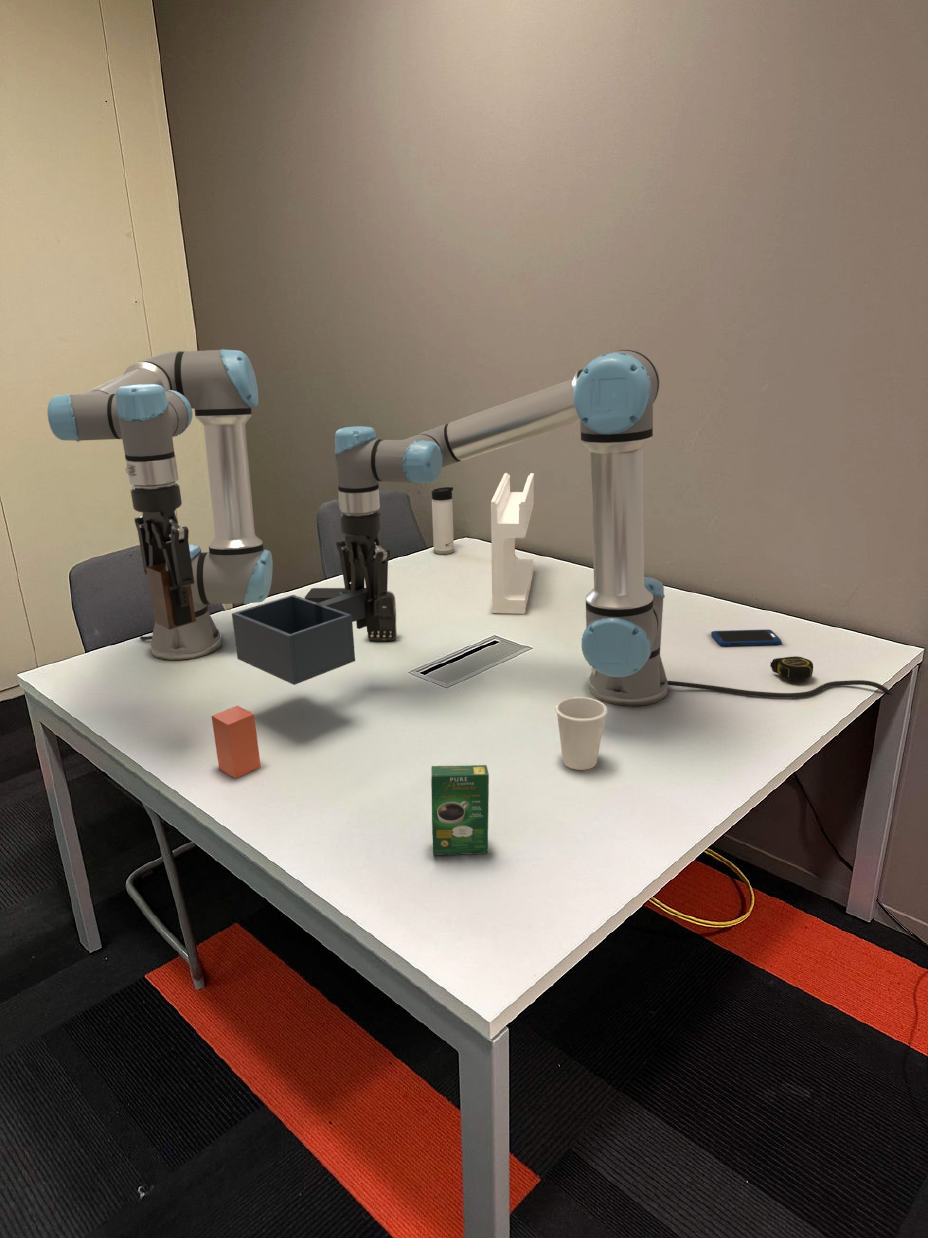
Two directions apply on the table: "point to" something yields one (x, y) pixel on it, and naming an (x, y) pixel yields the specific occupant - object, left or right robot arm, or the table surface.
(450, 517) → the travel mug
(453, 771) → the coffee box
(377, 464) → the right robot arm
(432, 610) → the table surface
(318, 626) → the tote
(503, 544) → the white stand
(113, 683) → the table surface
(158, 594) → the walnut block
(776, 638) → the cell phone
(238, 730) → the terracotta block
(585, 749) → the dixie cup
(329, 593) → the smart home device
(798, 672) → the tape measure
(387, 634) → the battery charger
